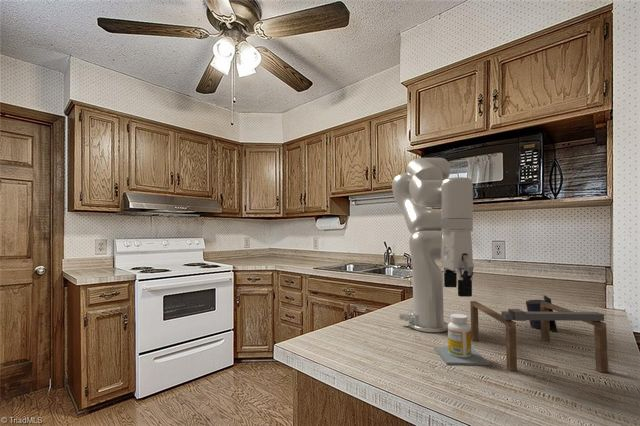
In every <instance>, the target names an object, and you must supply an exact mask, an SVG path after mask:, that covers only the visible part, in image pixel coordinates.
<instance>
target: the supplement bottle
mask: <svg viewBox="0 0 640 426" xmlns="http://www.w3.org/2000/svg"><path fill="white" fill-rule="evenodd" d="M467 323H468V315H466V314H463V313H452V314H451V313H450V322H449V323H448V330H447V340H448V341H447V343H448V344H447V347H448V351H449V353H450V354H451V355H453V356H455V357H460V358H467V357H470V356H471V347H472V339H471V325H469V324H467Z"/></svg>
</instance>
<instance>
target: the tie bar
mask: <svg viewBox="0 0 640 426" xmlns="http://www.w3.org/2000/svg"><path fill="white" fill-rule="evenodd" d="M500 314H501V315H502V318H503V319H505V320H512V321H514V322H521V321H523V322H525V321H529V320H554V321H555V322H556V321H560V322H561V321H565V322H566V321H570V322H571V321H573V322H574V321H578V322H579V321H580V322H583V321H601V322H604V321H605V313H601V312H599V311H573V312H557V311H553V312H530V311H527V310H526V311H524V310H522V309H520V308H508V309H507V311H506V310H503V311H501V313H500Z"/></svg>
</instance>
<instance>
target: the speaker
mask: <svg viewBox="0 0 640 426" xmlns="http://www.w3.org/2000/svg"><path fill="white" fill-rule="evenodd" d="M540 302H548V303H551V304H553V302H552V299H551V298H550V297H548V296H547V295H543V299H529V300H526V301H525V306H526V311H530V312H540ZM549 312H554V310H552V309H549ZM528 321H529V324H530V328H533V329H539V330H541V320H528ZM549 324H550V329H551V330H553V331H554V332H555V333H558V328H557V322H556V321H554V320H549Z"/></svg>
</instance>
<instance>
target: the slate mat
mask: <svg viewBox="0 0 640 426" xmlns="http://www.w3.org/2000/svg"><path fill="white" fill-rule="evenodd" d="M433 349H434V350H435V352H436V353H437V355H438V356H440V358H441V360H442V361H444V363H445V364H446V365H447V366H449V365H450V366H453V365H455V366H456V365H458V366H462V365H464V366H490V364H491V363H490V362H489V361H488V360H487V359H485V358H484V357H483V356H482V355H481V354H480V353H479V352H478V351H477V350H475V349H474V348H473V347H472V346H471V356H470V357H467V358H460V357H455V356H453V355H451V354H450V353H449V351H448V346H434V347H433Z"/></svg>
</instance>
